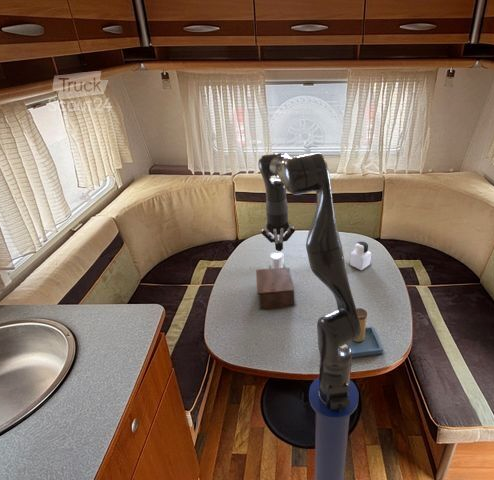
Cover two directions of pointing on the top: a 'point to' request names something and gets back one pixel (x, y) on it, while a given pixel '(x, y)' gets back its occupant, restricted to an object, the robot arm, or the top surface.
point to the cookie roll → (362, 317)
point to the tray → (366, 344)
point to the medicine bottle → (360, 256)
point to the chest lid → (274, 281)
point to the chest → (277, 300)
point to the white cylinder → (276, 260)
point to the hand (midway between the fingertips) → (279, 250)
